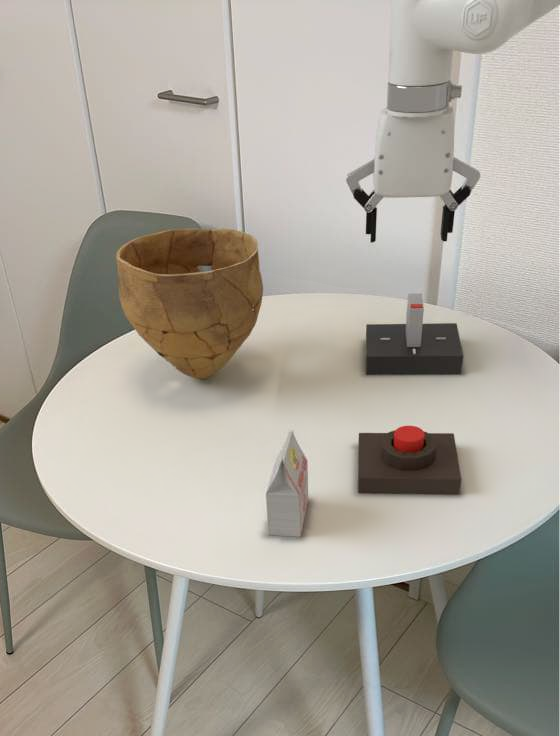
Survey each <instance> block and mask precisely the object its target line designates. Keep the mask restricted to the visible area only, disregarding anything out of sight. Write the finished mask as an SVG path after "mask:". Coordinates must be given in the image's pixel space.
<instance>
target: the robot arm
mask: <svg viewBox="0 0 560 736" xmlns="http://www.w3.org/2000/svg"><path fill="white" fill-rule="evenodd" d="M390 4H391V5H390V26H389V27H390V28H389V47H388V48H389V49H388V50H389V51H388V74H387V92H386V93H387V96H386V108H383V109H381V110H380V113H379V117H378V121H377V129H376V135H375V146H374V147H375V148H374V156H373V157H374V158H373V159H372V160H370V161H368V162H367V163H365V164H363V165H361V166H359V167H357V168H356V169H354V170H353V171H351V172H349V173H348V174H347V175H346V179H345V180H346V184H347V186H348V188H349V190H350V192H351V194H352V196H353V199H354V200H355V201H356V202H357V203H358V204H359V205H360V206H361V207H362V208H363V209H364V211H365V235H370V243H375V242H377V241H376V240H377V219H378V218H377V217H378V207H377V206H378V205H379V203H380V202H381V201H382V200H383V199H384V198H385V199H388V198H392V199H395V198H397V199H398V198H400V199H401V198H433V197H440V199H441V200H442V201H443V203H444V205H443V206H442V213H441V214H442V215H441V224H440V239H441V241H442V242H448V236H449V235H448V234H453V232H454V230H453V229H454V222H455V212H456V210H457V209H458V208H459V206H460V205H462V203H463V202H464V201H466V200H467V199H468V198H469V197H470V196H471V193H472V191H473V189H474V188H475V187H476V185H477V183H478V182H479V180H480V179H481V172H480V170H479V169H477V168H475V167H473V166H471V165H470V164H467V163H466V162H464V161H462V160H461V159H459V158H457V157H455V155H454V154H455V113H454V107H453V106H450V103H451V102H452V100H455V99H461V97H462V91H463V90H462V89H463V87H462V85H461V84H460V85H457V84H453V82H452V81H451V79H452V78H451V77H452V67H453V58H454V57H453V56H454V51H455V52H459V53H466V54H472V55H484V54H488V53H492V52H494V51H496V50H497V49H500V48H501V47H502V46H504V45H505V44H506V43H507V42H509V40H511V39H512V38H513V37H514V36H516V35H517V34H519V33H520V32H521V31H523V30H525V29H526V28H528V27H529V26H530V25H532V24H533V23H535V22H537V21H538V20H539V19H541V18H543V17H544V16H545V15H547V14H548V13H550V12H552V11H553V10H555V9H556V8H558V7H559V6H560V0H391V3H390ZM454 172H455V173H457V174H459V175H460V176H462V177H464V178H465V181H464V183H463V185H461V186H460V187H459V188H457V190H456V191H455V192H453V191H452V190H451V189H452V188H451V187H452V183H453V175H454V174H453V173H454ZM372 174H373V176H372V177H373V180H372V181H373V189H372V190H371V192H370V193H369V194H368V193H367V192H366V191H365V190H364V189H363V188H362V187H361V185H360V181H361V180H363V179H365V178H367V177H369V176H370V175H372Z"/></svg>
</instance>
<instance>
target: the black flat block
mask: <svg viewBox="0 0 560 736" xmlns="http://www.w3.org/2000/svg"><path fill="white" fill-rule="evenodd" d="M463 362H464V351H463V347H462V343H461V338H460V332H459V328H458V324H457V322H454V323H453V322H450V323H449V322H447V323H444V322H443V323H441V322H439V323H423V324H422V336H421V347H407V341H406V323H367V324H366V325H365V375H366V376H367V375H368V376H369V375H371V376H372V375H373V376H374V375H377V376H378V375H379V376H380V375H386V376H387V375H388V376H389V375H395V376H396V375H462V371H463V364H464V363H463Z"/></svg>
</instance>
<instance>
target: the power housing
mask: <svg viewBox="0 0 560 736" xmlns="http://www.w3.org/2000/svg"><path fill="white" fill-rule="evenodd" d="M395 430H396V429H395ZM395 430H392V431H388V432H359V433H358V444H357V445H358V446H357V447H358V448H357V450H358V451H357V455H358V457H357V460H358V461H357V466H358V467H357V493H358V494H416V495H417V494H419V495H460V493H461V492H460V491H461V484H462V476H461V470H460V469H461V468H460V464H459V456H458V451H457V445H456V439H455V434H454V432H427V431H424V434H425V435H424V446H423V449H422V450H420V451H417V452H402V451H399V450H396V449H395V448H394V432H395Z"/></svg>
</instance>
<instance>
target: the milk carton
mask: <svg viewBox="0 0 560 736" xmlns="http://www.w3.org/2000/svg"><path fill="white" fill-rule="evenodd" d="M308 465H309V464H308V459H307V457H306V455H305V453H304V452H303V450H302V447H301V446H300V445H299V442H298V441H297V438H296V436H295V433H294V429H292V430H291V429H289V430H288V434H287V436H286V439H285V441H284V443H283V445H282V447H281V448H280V450H279V452H278V454H277V455H276V457H275V460H274V465H273V467H272V470H271V471H272V472H271V475H270V478H269V481H268V484H267V488H266V491H265V500H266V516H267V530H268V536H279V537H293V538H302V532H303V527H304V523H305V519H306V514H307V509H308V505H309V469H308V468H309V467H308Z"/></svg>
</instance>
